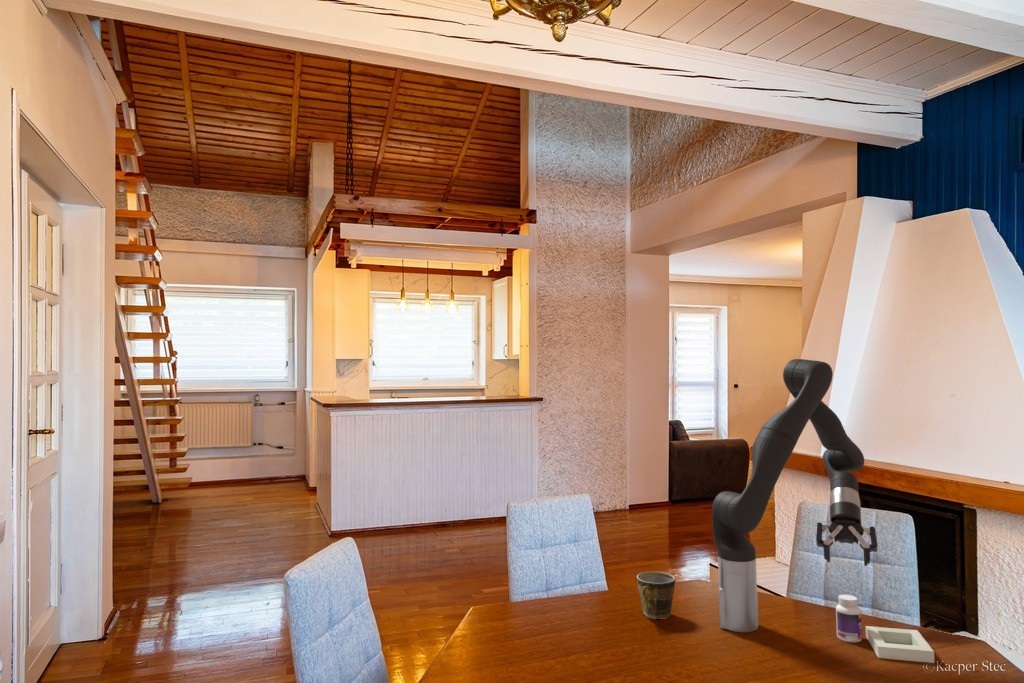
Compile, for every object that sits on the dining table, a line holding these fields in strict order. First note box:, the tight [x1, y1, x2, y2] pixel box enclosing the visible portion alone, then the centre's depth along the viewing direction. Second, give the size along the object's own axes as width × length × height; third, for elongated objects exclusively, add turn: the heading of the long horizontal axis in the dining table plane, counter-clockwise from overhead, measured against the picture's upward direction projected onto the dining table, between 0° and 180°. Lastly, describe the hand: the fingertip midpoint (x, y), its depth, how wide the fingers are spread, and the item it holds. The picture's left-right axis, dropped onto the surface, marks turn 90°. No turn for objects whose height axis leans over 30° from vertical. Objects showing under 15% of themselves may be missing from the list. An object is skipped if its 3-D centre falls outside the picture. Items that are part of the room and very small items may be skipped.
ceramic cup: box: [636, 571, 676, 619], centre depth 175 cm, size 13×10×10 cm
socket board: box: [865, 625, 935, 664], centre depth 153 cm, size 11×12×2 cm
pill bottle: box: [835, 594, 863, 643], centre depth 159 cm, size 5×5×10 cm
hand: (847, 562), depth 170 cm, fingers open, 8 cm apart
